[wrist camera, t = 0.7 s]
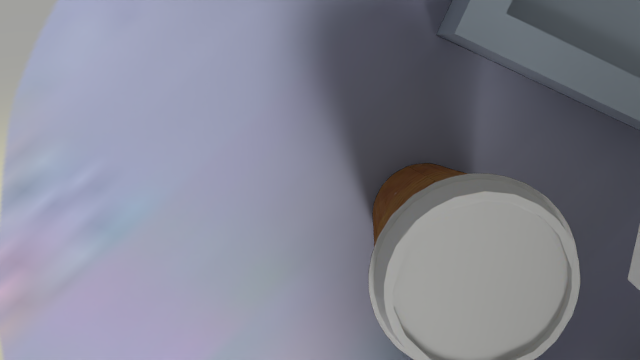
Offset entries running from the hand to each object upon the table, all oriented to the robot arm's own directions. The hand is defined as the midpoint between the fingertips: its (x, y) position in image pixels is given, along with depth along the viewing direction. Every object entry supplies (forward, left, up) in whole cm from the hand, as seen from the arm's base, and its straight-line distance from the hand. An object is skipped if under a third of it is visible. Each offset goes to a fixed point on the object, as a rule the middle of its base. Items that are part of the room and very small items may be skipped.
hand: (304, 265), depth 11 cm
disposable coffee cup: (-10, +3, -26) cm, 28 cm away
